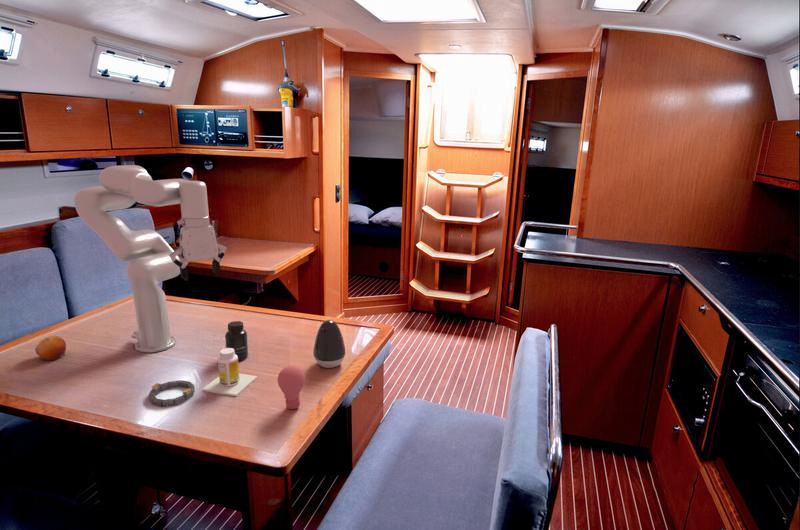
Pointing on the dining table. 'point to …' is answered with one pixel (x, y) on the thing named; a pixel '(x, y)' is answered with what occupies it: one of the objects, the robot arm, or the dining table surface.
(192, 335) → the dining table surface
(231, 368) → the supplement bottle
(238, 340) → the supplement bottle
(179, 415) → the dining table surface
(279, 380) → the light bulb
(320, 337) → the pump dispenser
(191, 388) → the collar
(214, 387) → the coaster
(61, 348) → the fruit
